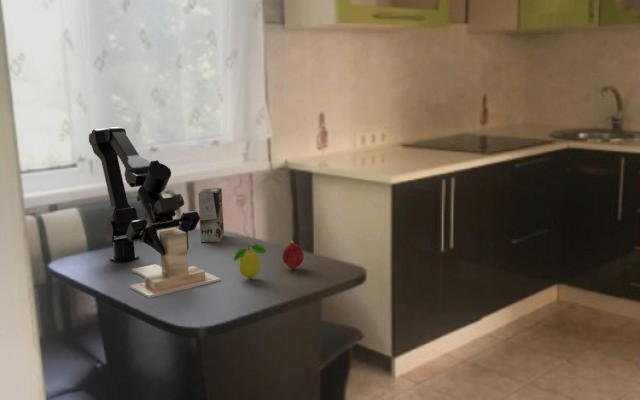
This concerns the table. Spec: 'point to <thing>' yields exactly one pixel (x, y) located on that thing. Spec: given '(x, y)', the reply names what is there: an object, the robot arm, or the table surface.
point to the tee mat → (151, 292)
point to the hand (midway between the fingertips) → (176, 252)
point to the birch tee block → (174, 262)
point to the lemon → (249, 261)
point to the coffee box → (211, 215)
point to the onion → (293, 255)
